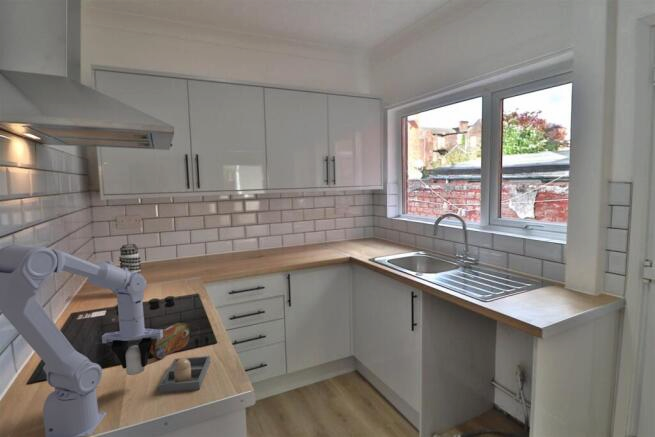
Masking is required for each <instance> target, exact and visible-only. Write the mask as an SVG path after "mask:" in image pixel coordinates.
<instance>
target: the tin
mask: <svg viewBox="0 0 655 437" xmlns="http://www.w3.org/2000/svg"><path fill="white" fill-rule="evenodd" d="M191 337H192V330H191V327H190V325H189V324H188V323H186V322H177V323H174V324H172V325H170V326H168V327H166V328H165V329H163V337H162V338H161V339H157V338H156V339H154V341H153V343H152V345H151V348H150V355H151V356H152V357H153V358H155V359H159V360H163V359H165V358H166V357H167V356H169V355H171V354H172V353H174V352H175V351H181V350H183V349H184V348H185V347H186V346H187V345H188V344H189V342H190V339H191Z"/></svg>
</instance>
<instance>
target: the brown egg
mask: <svg viewBox="0 0 655 437" xmlns="http://www.w3.org/2000/svg"><path fill="white" fill-rule="evenodd" d="M181 358H182V359H179V360H178V361H176V363H175V365H174V376H175V383H176V382H188V381H192V378H191V364H190V361H189V360H188V359H185V358H186V357H181Z"/></svg>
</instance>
